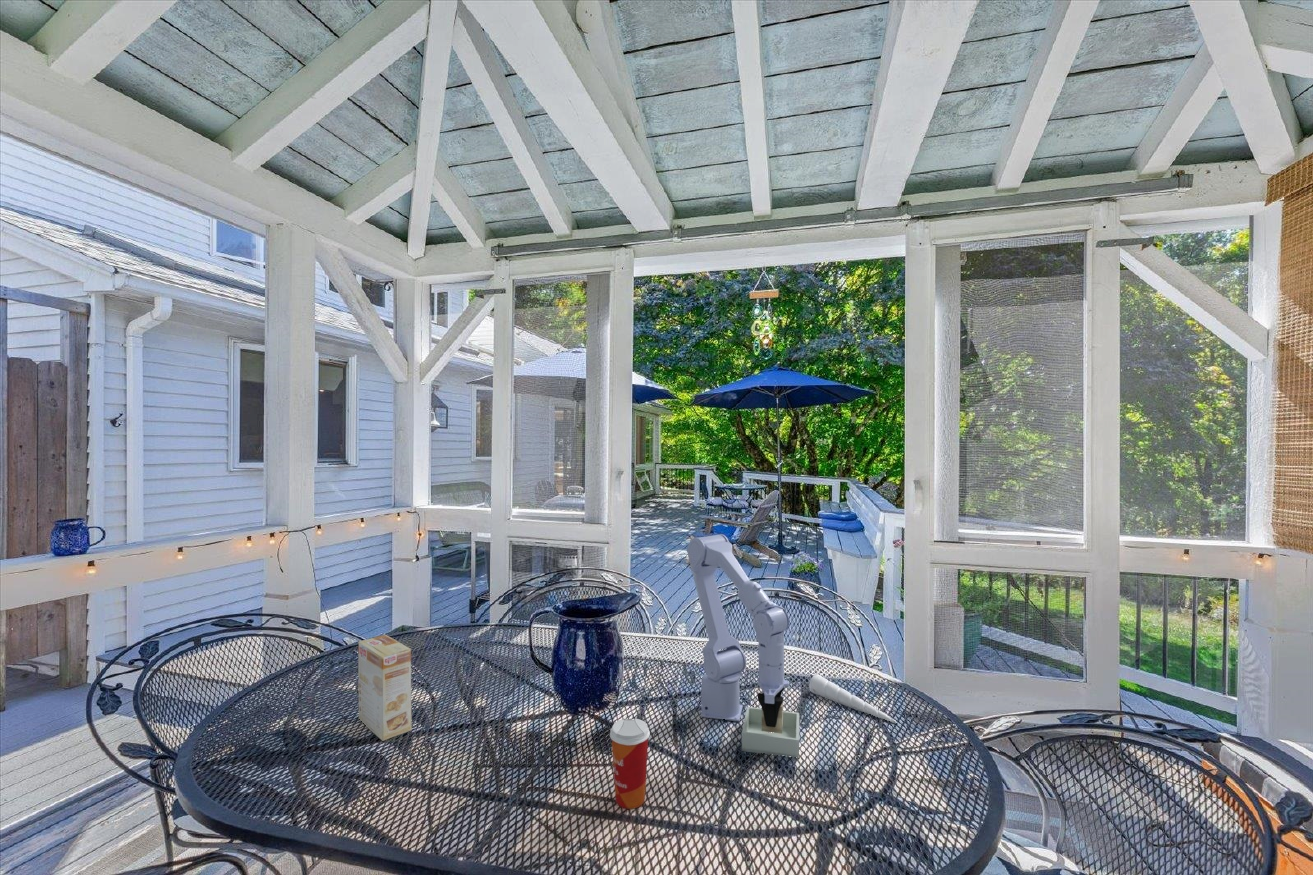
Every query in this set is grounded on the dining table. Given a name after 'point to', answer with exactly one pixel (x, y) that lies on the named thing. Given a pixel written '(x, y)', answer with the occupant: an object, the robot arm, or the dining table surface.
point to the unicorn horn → (843, 697)
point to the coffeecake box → (384, 686)
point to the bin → (770, 734)
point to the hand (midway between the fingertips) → (771, 720)
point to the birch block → (778, 725)
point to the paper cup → (630, 761)
